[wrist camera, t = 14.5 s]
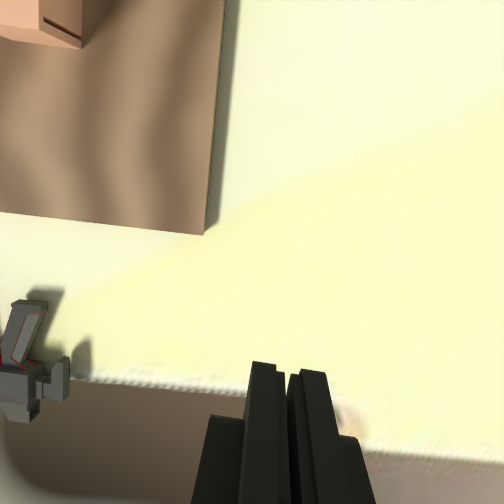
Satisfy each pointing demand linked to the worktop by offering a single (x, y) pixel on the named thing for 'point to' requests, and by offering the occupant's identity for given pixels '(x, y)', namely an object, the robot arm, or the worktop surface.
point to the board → (114, 117)
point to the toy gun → (27, 366)
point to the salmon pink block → (34, 28)
